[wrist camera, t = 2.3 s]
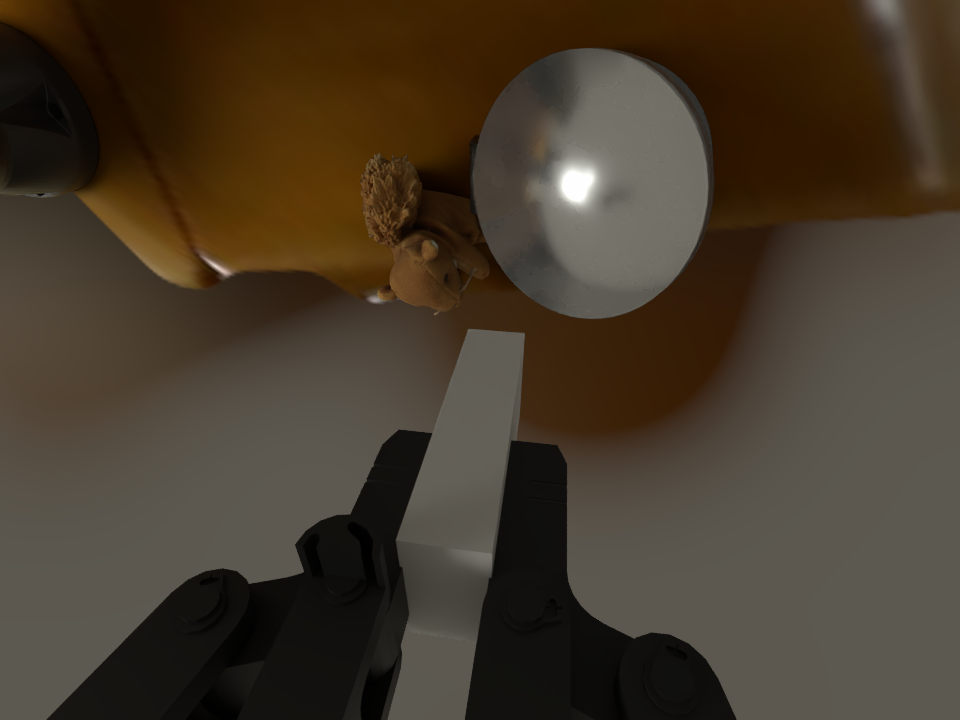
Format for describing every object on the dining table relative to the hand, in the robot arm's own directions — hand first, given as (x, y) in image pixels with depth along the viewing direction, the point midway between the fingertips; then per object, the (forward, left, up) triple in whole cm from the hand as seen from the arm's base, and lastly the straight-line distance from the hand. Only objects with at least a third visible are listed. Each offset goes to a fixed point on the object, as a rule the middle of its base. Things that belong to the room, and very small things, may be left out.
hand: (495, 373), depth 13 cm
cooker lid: (+2, +2, -19) cm, 19 cm away
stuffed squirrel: (-4, -12, -35) cm, 37 cm away
